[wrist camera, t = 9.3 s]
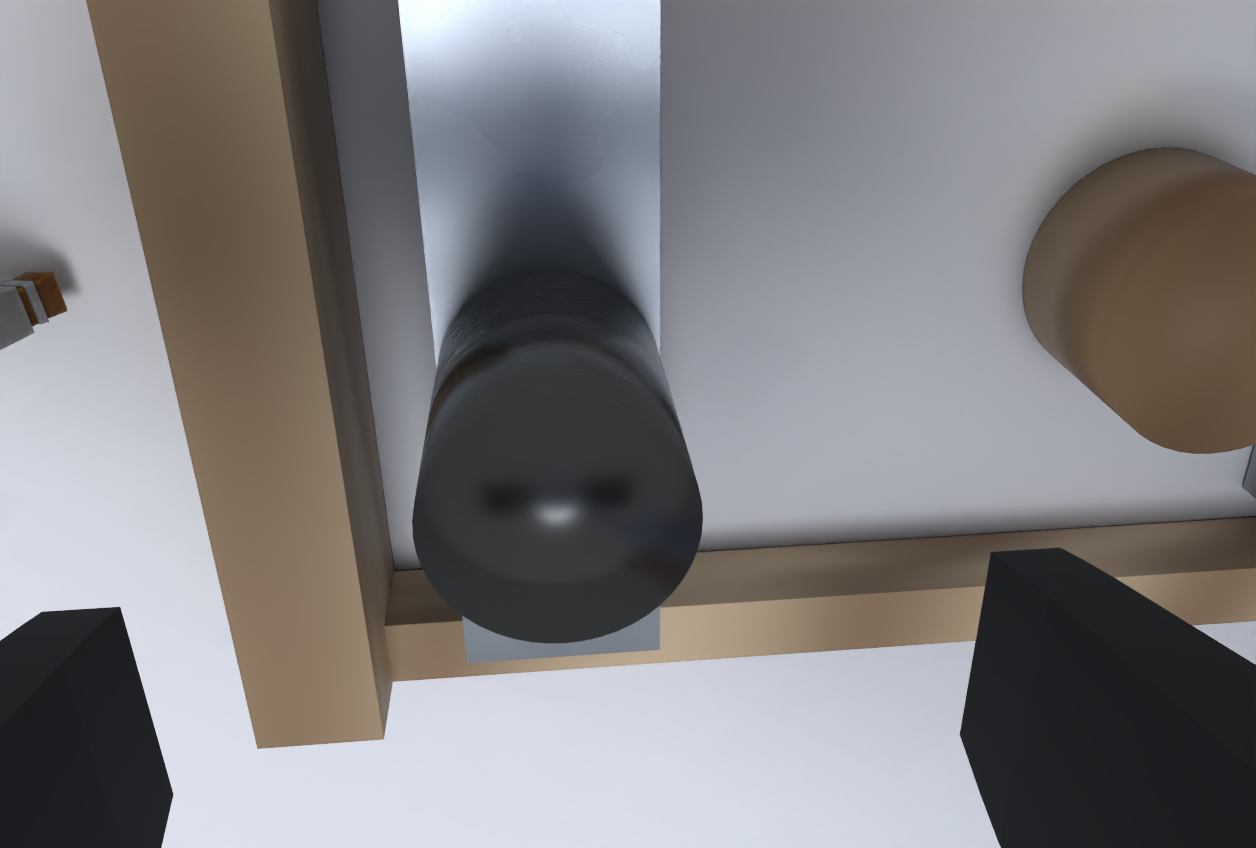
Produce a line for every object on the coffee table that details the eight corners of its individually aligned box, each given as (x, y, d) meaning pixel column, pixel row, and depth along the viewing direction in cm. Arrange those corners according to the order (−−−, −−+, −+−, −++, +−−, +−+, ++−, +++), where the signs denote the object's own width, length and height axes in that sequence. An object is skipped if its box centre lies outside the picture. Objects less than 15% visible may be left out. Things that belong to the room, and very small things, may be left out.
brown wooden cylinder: (1279, 142, 17) (1418, 190, 15) (1220, 367, 19) (1333, 447, 17) (1042, 150, 17) (1139, 200, 14) (1004, 378, 19) (1083, 460, 16)
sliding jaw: (635, -29, 15) (713, 35, 9) (640, 544, 19) (695, 845, 13) (419, -25, 15) (351, 44, 9) (474, 553, 19) (454, 864, 13)
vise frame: (1626, -171, 16) (1855, -180, 13) (1361, 560, 21) (1481, 657, 19) (138, -153, 14) (50, -158, 11) (292, 632, 20) (257, 748, 17)
